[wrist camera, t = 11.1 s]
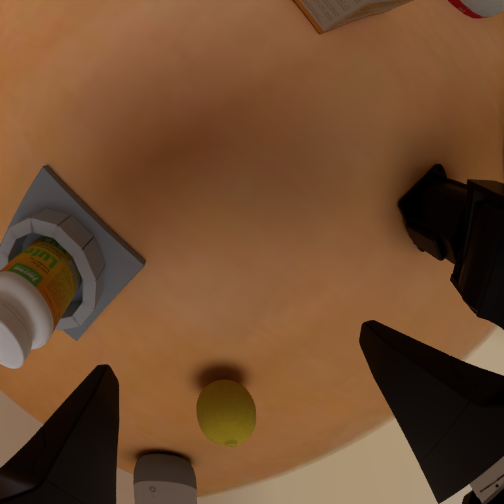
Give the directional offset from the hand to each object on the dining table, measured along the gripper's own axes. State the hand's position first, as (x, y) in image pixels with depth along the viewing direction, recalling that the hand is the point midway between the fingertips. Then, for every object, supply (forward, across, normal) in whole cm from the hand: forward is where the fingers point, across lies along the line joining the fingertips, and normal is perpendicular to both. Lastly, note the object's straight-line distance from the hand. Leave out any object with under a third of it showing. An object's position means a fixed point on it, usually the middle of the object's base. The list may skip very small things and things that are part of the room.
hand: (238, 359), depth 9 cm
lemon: (+13, +2, +16) cm, 21 cm away
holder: (+13, +13, 0) cm, 19 cm away
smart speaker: (+13, +14, +35) cm, 40 cm away
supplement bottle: (+12, +13, 0) cm, 18 cm away
